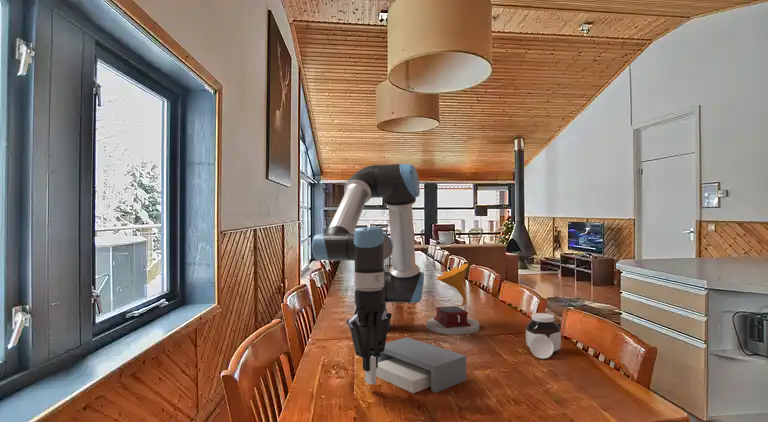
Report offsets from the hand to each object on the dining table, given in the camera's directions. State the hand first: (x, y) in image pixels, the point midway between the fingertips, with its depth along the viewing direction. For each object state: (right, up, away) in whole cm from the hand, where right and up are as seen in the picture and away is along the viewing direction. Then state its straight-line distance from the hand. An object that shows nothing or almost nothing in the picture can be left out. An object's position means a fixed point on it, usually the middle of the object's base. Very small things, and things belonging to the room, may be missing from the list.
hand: (370, 382), depth 105 cm
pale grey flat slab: (+9, -2, +8) cm, 12 cm away
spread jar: (+54, -2, +27) cm, 60 cm away
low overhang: (+13, -2, +11) cm, 18 cm away
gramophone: (+31, -3, +60) cm, 67 cm away
